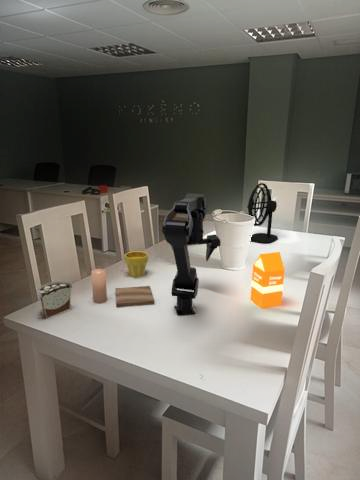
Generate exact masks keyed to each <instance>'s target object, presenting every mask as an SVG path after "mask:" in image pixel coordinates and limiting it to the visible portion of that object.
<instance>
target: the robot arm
mask: <svg viewBox="0 0 360 480" xmlns="http://www.w3.org/2000/svg"><path fill="white" fill-rule="evenodd" d="M208 211H209V210H208V203H207V197H205V194H203V193H201V194H200V193H186V195H184V198H183V199H181V200H176V201H174V204H173V207H172V208H171V209H170V210H169V211H168V212H167V213H166V215H165V216H164V220H163V224H162V231H161V232H162V234H163V237H164V239H165V241H166V242H167V244H169V245H170V248H171V249H172V251H173V255H174V261H175V265H176V266H175V267H176V274H175V276H174V278H173V279H172V280H173V281H172V285H171V296H172V297H176V305H174V307H173V308H174V310H175V313H176V315H177V316H185V315H186V316H187V315H195V314H196V311H195V309H194V307H193V304H194V303H193V300H196V297H197V296H198V291H199V283H200V282H199V277H198V273H197V269H196V267H193V266H192V267H191V260H190V254H189V249H188V248H189V247H191V246H198V245H205V246H206V250H205V260H206V262H208V261H209V259H210V258H211V255H212V254H213V253H214V252H215V250H216V249H217V248H218V247H220V246H221V239H220V238H219V236H217V234H209V235H208V234H207V236H206V238H204V220H205V218H206V216H207V214H208ZM178 214H179V215H180V214H182V215H187V220H179V219H177V220H176V219H175V217H176V216H177V215H178Z"/></svg>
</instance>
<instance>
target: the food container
mask: <svg viewBox="0 0 360 480" xmlns="http://www.w3.org/2000/svg"><path fill="white" fill-rule="evenodd" d="M72 285H73V284H72V283H71V282H70V281H64V280H61V281H53V282H52V281H51V282H48V283H44V284H43V285H41V286H39V289H38V291H37V297H38V299H39V300H40V304H41V307H42V312H43V316H44V318H45V319H46V320H48V319H50V318H52V317H55V316H57V315H59V314H62V313H65V312H67V311H69V310H71V291H72V290H71V289H72V288H73V286H72Z"/></svg>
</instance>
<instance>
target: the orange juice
mask: <svg viewBox="0 0 360 480" xmlns="http://www.w3.org/2000/svg"><path fill="white" fill-rule="evenodd" d="M251 275H252V276H251V284H250V285H251V290H250V301H251V300H252V301H253V302H254V303H253V302H252V301H251V302H252V303H253V304H254V305H255V306H259V308H260V309H261V308H263V309H267V308H266V307H268V308H272V307H271V306H274V307H277V306H276V305H279V306H282V298H283V290H284V280H285V266H284V263H283V259H282V256H281V252H280V251H276V252H267V253H260V254H259V256H258V257H257V258H256V260H255V262H254V263H253V265H252V273H251Z"/></svg>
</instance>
